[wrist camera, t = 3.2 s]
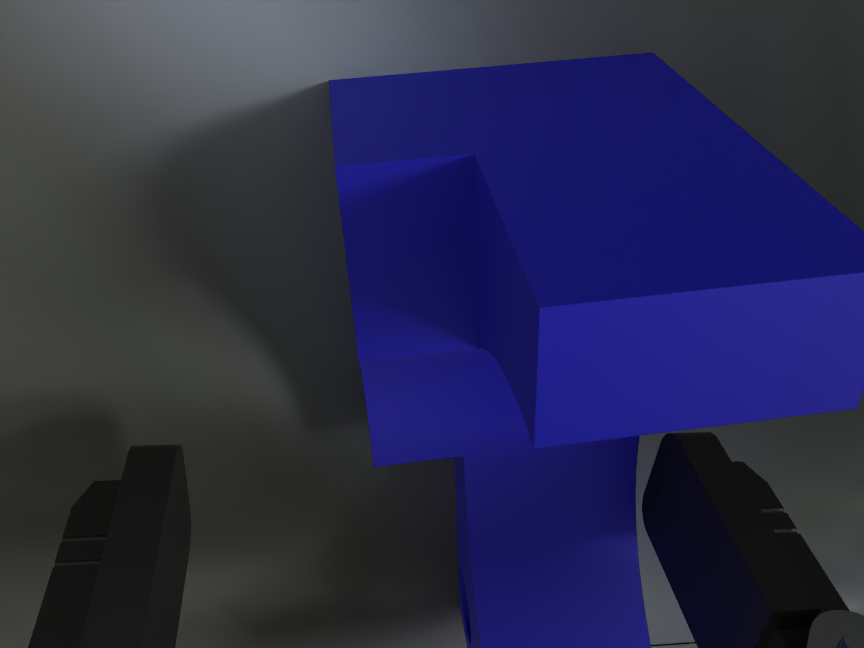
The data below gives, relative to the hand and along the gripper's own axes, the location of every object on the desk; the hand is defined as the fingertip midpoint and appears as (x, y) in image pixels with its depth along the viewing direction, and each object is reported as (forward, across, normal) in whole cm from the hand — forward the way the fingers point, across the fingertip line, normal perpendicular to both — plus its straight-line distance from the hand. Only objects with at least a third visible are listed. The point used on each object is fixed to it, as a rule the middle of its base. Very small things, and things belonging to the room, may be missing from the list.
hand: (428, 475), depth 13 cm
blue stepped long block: (+2, -1, 0) cm, 2 cm away
